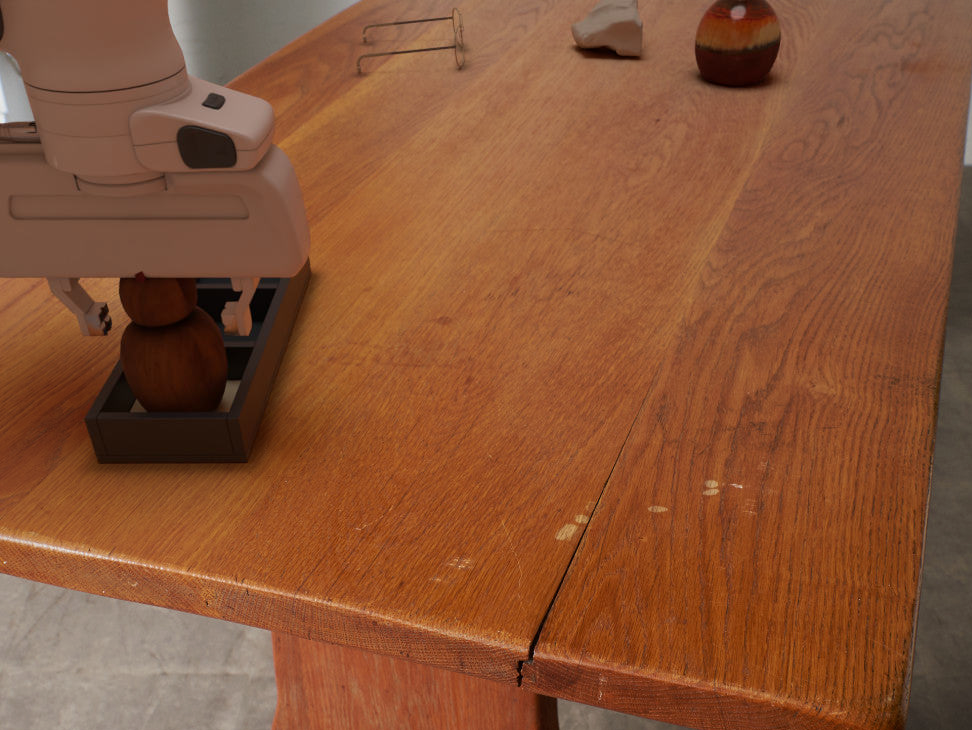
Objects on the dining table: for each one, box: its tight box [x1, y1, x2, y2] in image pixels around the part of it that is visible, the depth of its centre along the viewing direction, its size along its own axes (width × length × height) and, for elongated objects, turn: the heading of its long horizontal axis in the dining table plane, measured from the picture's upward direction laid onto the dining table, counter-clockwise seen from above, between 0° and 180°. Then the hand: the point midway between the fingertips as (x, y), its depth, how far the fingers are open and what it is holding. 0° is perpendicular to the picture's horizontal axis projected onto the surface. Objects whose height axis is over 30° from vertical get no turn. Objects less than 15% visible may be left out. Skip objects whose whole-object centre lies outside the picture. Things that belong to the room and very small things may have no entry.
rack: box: [83, 255, 312, 464], centre depth 78 cm, size 10×29×4 cm, turn 0°
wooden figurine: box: [118, 271, 228, 412], centre depth 67 cm, size 7×6×15 cm
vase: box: [694, 0, 782, 87], centre depth 131 cm, size 11×11×15 cm
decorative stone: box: [571, 0, 644, 57], centre depth 144 cm, size 11×9×10 cm
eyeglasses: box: [356, 7, 465, 74], centre depth 143 cm, size 16×15×5 cm
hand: (168, 332), depth 68 cm, fingers open, 8 cm apart
